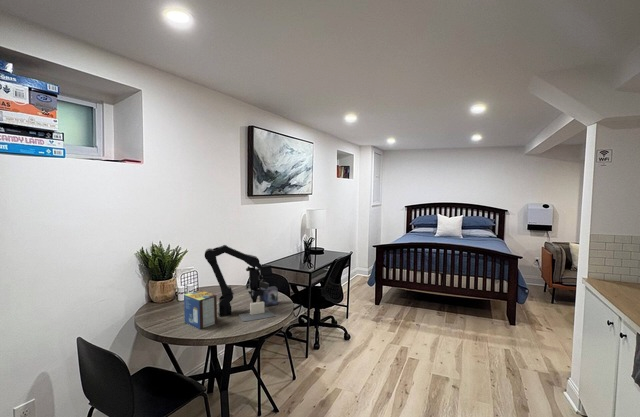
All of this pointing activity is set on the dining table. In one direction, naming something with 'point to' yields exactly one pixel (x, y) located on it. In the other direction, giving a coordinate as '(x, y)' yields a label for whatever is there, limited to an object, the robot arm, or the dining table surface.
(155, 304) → the dining table surface
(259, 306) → the cream slab
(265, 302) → the small box
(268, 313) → the rubber mat
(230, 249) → the robot arm
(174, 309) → the dining table surface
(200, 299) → the protein box
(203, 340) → the dining table surface
